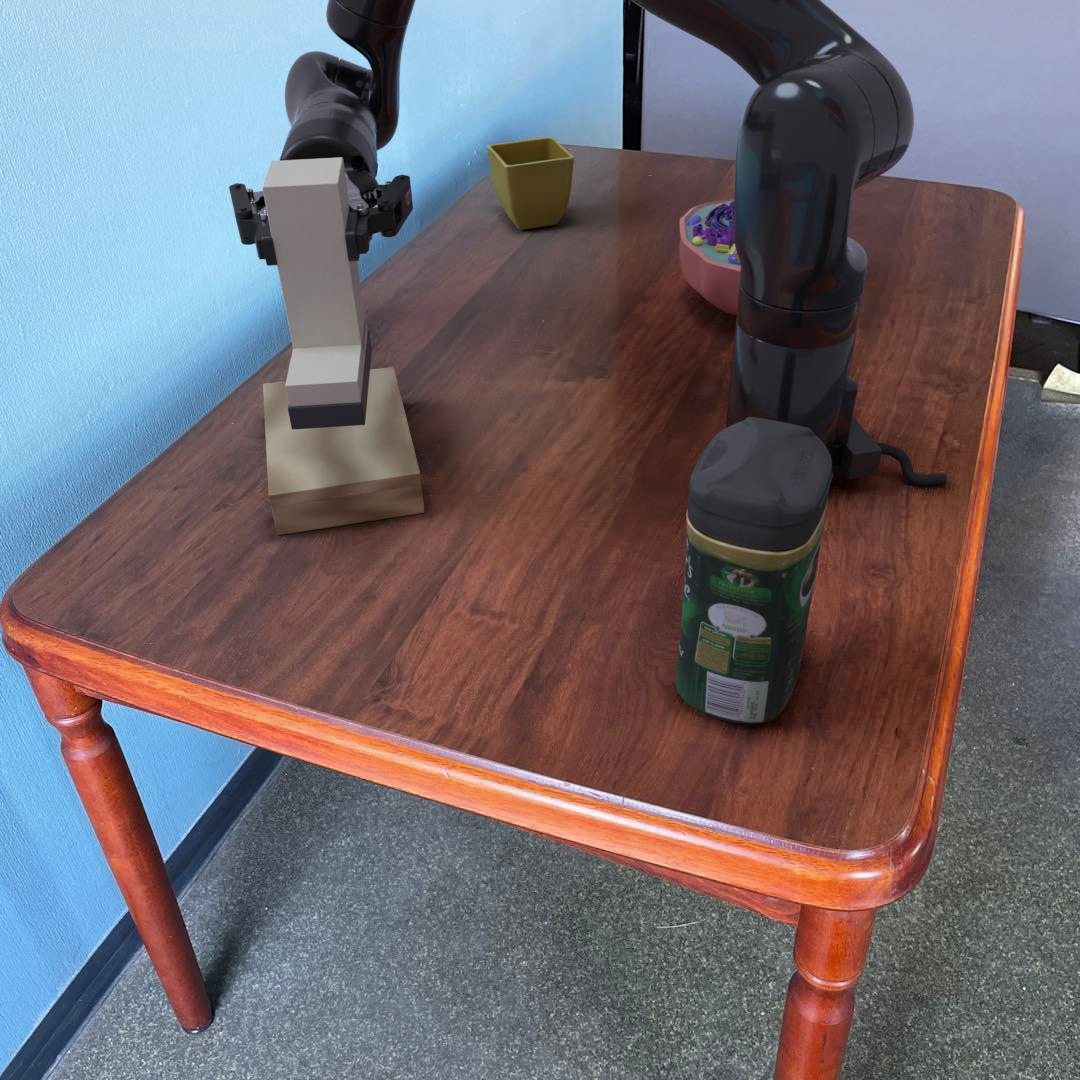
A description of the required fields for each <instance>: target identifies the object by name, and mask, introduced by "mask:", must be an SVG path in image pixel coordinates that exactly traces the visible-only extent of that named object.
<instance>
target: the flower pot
mask: <svg viewBox="0 0 1080 1080" xmlns="http://www.w3.org/2000/svg"><path fill="white" fill-rule="evenodd" d="M487 153H488V160H489V165H490V170H491V176H492V182H493V186H494V189H495V192H496V196H497V199H498V200H499V202H500V204H501V206H502V208H503V210H504V212H505V213H506V215H507V217H508V218H509V219H510V221H511V223H513V224H514V225H515V227H516V228H517V230H521V231H523V230H531V229H535V228H541V227H549V226H555V225H557V224H558V223H559V222H560V220H561V219H562V217H563V216H564V213H565V211H566V209H567V207H568V205H569V202H570V197H571V190H572V182H573V174H574V173H573V172H574V164H575V162H574V161H575V156H574V155H573V154H572V153H571V152H569V151H568V150H567V149H566V148H565V147H564V146H563V145H562V144H561V143H560V142H559V141H558V139H556V138H555V137H553V136H547V137H538V138H531V139H523V140H515V141H508V142H500V143H493V144H488V145H487Z"/></svg>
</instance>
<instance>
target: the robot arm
mask: <svg viewBox="0 0 1080 1080" xmlns="http://www.w3.org/2000/svg"><path fill="white" fill-rule="evenodd" d="M327 1H328V2H327V5H326V13H325V19H326V23H327V25H328V28H329V30H330V31H331V32H332V33H333V34H334V35H335V37H337V38H339V39H340V40H341V41H343V42H344V43H345V44H346V45H348V46H349V47H351V48H352V49H354V50H355V51H357V52H358V53H359V54H360V55H361V56H362V57H364V59H366V60H367V62H368V64H369V67H370V69H369V68H367V67H365V66H362V65H359V64H356V63H353V62H351V61H349V60H347V59H343V58H340V57H338V56H336V55H333V54H331V53H328V52H324V51H318V50H312V51H308V52H305V53H303V54H301V55H300V56H298V58H296V60H295V61H294V62H293V64H292V65H291V66H290V69H289V70H288V74H287V77H286V81H285V87H284V107H285V108H284V109H285V114H286V118H287V120H288V123H289V125H290V127H291V128H290V129H289V131H288V134H287V136H286V138H285V142H284V144H283V148H282V151H281V155H280V158H279V160H278V161H281V160H301V159H320V158H339V157H342V158H343V161H344V169H345V176H346V183H347V190H348V197H349V207H350V212H348V218H347V224H346V230H345V240H346V247H347V254H348V260H349V261H358V262H360V257H361V255H366V254H367V253H368V252H369V251H370V245H371V241H372V240H373V239H374V237H373V235H374V234H378V233H380V236H381V237H383V238H394V237H396V236H397V235H398V234H399V232H400V231H401V229H402V228H403V226H404V224H405V223H406V221H407V219H408V218H409V216H410V214H411V213H412V211H413V210H414V204H413V203H414V202H413V194H412V183H411V176H410V175H408V174H407V175H406V174H399V175H396V176H394V177H393V179H392V180H391V181H388V180H387V181H385V183H384V184H379V182H378V180H377V179H376V177H377V176H378V169H379V163H378V151H380V150H382V149H383V148H385V147H386V146H387V145H388V144H389V143H390V142H391V141H392V139H393V138H394V136H395V134H396V131H397V129H398V124H399V119H400V107H401V105H400V104H401V102H400V101H401V99H400V98H401V97H400V96H401V95H400V94H401V91H400V89H401V88H400V86H401V85H400V84H401V82H400V81H401V80H400V79H401V63H402V54H403V48H404V44H405V43H404V42H405V37H406V34H407V31H408V30H407V29H408V26H409V23H410V20H411V16H412V13H413V10H414V7H415V3H416V0H327ZM631 2H633V3H634V4H635V5H636V6H639V7H640V8H642V9H643V10H645V11H646V12H648V13H649V14H651V15H653V16H654V17H656V18H658V19H660V20H662V21H664V22H665V23H667V24H669V25H671V26H673V27H675V28H676V29H678V30H681V31H683V32H685V33H687V34H689V35H690V36H693V37H695V38H697V39H698V40H701V41H702V42H704V43H705V44H708V45H709V46H711V47H713V48H715V49H716V50H718V51H720V52H721V53H723V54H724V55H726V56H727V57H729V58H730V59H731V60H733V61H734V63H736V64H737V65H739V66H740V68H741V69H743V70H744V71H745V72H746V73H747V75H749V76H750V78H752V79H753V81H754V82H755V83H756V84H757V85H758V86H757V88H756V89H755V90H754V91H753V93H752V94H751V96H750V98H749V99H748V101H747V103H746V106H745V108H744V110H743V114H742V117H741V121H740V125H739V130H738V135H737V145H736V156H735V174H734V198H733V199H734V221H733V234H734V243H735V248H736V252H737V254H738V257H739V261H740V265H741V272H740V285H739V295H738V305H737V316H736V315H735V328H734V337H733V347H732V348H733V349H732V359H731V368H730V377H729V378H730V379H729V386H728V387H729V390H728V400H727V410H726V419H725V428H727V427H729V426H731V425H734V424H736V423H738V422H741V421H744V420H745V419H746V418H748V417H755V418H762V419H768V420H774V421H780V422H785V423H789V424H794V425H798V426H802V427H806V428H809V429H811V430H812V431H813V433H814V434H815V435H816V436H817V437H818V438H819V439H820V440H821V441H822V442H823V444H824V445H825V446H826V448H827V449H828V451H829V453H830V456H831V459H832V472H833V478H832V480H831V483H830V486H833V485H839V484H840V483H842V478H843V474H844V475H845V477H847V479H849V480H852V479H858V478H865V477H871V476H876V475H878V473H879V469H880V468H879V467H880V463H881V458H882V455H885V456H889V457H891V458H893V459H895V460H896V461H897V462H899V464H900V470H901V473H902V475H903V478H905V479H906V480H907V481H908V482H910V483H911V484H914V485H918V486H933V485H934V486H935V485H946V483H947V477H948V476H947V473H946V472H945V473H944V472H943V473H942V472H941V473H940V472H939V473H930V474H920V473H917V472H915V471H914V469H913V464H912V460H911V458H910V456H909V455H908V454H907V453H906V452H905V451H903V450H902V449H901V448H899V447H897V446H895V445H893V444H890V443H883V442H880V441H875V440H874V439H873V438H872V436H871V435H870V434H869V432H868V431H866V429H865V428H864V427H863V426H862V425H861V423H860V422H859V421H858V420H857V419H856V418H855V417H854V412H855V406H856V401H857V395H858V390H859V386H858V383H857V381H856V380H855V379H854V378H853V377H852V376H851V375H850V373H851V368H852V362H853V355H854V350H855V345H856V339H857V333H858V326H859V322H860V315H861V310H862V304H863V298H864V293H865V288H866V282H867V275H868V270H869V269H868V268H869V258H868V253H867V251H866V249H864V247H863V245H861V244H860V243H859V242H858V241H856V240H855V239H853V238H851V237H849V236H848V235H849V224H850V214H851V207H852V199H853V193H854V191H856V190H857V189H859V188H861V187H863V186H865V185H866V184H868V183H870V182H871V181H874V180H875V179H877V178H879V177H880V176H882V175H884V174H885V173H887V172H888V171H889V170H891V169H892V168H894V166H896V165H897V164H898V163H899V162H900V161H901V159H903V157H904V156H905V153H906V152H907V150H908V149H909V147H910V145H911V141H912V138H913V133H914V128H915V114H914V113H915V112H914V107H913V101H912V98H911V95H910V94H911V93H910V92H909V89H908V87H907V84H906V82H905V81H904V79H903V77H902V76H901V74H900V72H899V71H898V69H896V67H895V66H894V64H892V62H890V61H889V59H888V58H887V57H886V56H885V55H884V54H883V53H882V52H881V51H880V50H879V49H877V47H875V46H874V45H873V44H872V43H871V42H869V41H868V40H867V39H866V38H865V37H864V36H863V35H862V34H860V33H859V31H857V30H856V29H854V28H853V27H852V26H851V25H850V24H848V22H847V21H845V20H844V19H843V18H842V17H841V16H840V15H838V14H837V13H836V12H834V10H832V9H831V8H830V7H829V6H828V5H826V3H825V2H823V1H822V0H631ZM228 190H229V194H230V199H231V205H232V208H233V213H234V218H235V223H236V226H237V230H238V234H239V238H240V242H241V244H242V245H245V246H251V245H254V244H255V250H256V253H257V257H258V259H259V260H265V264H266V266H268V267H270V266H271V267H273V266H277V261H276V256H275V251H274V245H273V240H272V235H271V230H270V225H269V220H268V214H267V209H266V204H265V199H264V193H263V190H260V191H254V189H253V188H247V186H246V185H245V183H240V182H239V183H238V182H237V183H233V184H231V185H229V186H228Z"/></svg>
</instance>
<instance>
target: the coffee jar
mask: <svg viewBox="0 0 1080 1080" xmlns="http://www.w3.org/2000/svg"><path fill="white" fill-rule="evenodd" d="M832 478H833V472H832V459H831V456H830V453H829V451H828V449H827V448H826V446H825V445H824V444H823V442H822V441H821V440H820V439H819V438H818V437H817V436H816V435H815V434H814V433H813V431H812V430H811V429H809V428H806V427H802V426H798V425H794V424H789V423H785V422H780V421H774V420H768V419H762V418H755V417H748V418H746V419H745V420H744V421H741V422H738V423H736V424H734V425H731V426H729V427H727V428H726V427H725V428H724V429H722V430H720V431H719V432H718V433H716V434H715V436H713V437H712V438H711V440H709V443H708V444H707V446H706V447H705V449H704V450H703V451H702V452H701V454H700V456H699V458H698V459H697V462H696V464H695V466H694V468H693V470H692V474H691V475H690V478H689V483H688V498H687V508H686V518H685V519H686V552H685V553H686V554H685V555H686V556H685V569H684V582H683V594H682V605H681V606H682V608H681V619H680V629H679V638H678V639H679V641H678V652H677V661H676V673H675V686H676V690H677V693H678V695H679V696H680V697H681V699H682V700H683V701H684V702H685V703H686V704H687V705H689V706H690V707H692V708H693V709H695V710H697V711H699V712H700V713H702V714H704V715H706V716H708V717H711V718H714V719H717V720H721V721H723V722H727V723H732V724H742V725H759V724H765V723H767V722H768V723H769V722H771V721H773V720H774V719H776V718H777V717H778V716H779V715H780V714H781V713H782V712H783V711H784V710H785V708H786V707H787V705H788V703H789V701H790V699H791V697H792V695H793V693H794V690H795V687H796V685H797V682H798V679H799V676H800V673H801V672H800V671H801V667H802V662H803V657H804V656H803V655H804V650H805V644H806V637H807V630H808V624H809V623H808V622H809V617H810V609H811V603H812V597H813V593H814V592H813V591H814V587H815V581H816V575H817V569H818V562H819V557H820V550H821V544H822V538H823V532H824V526H825V522H826V521H825V520H826V513H827V507H828V502H829V495H830V489H831V485H830V483H831V480H832Z"/></svg>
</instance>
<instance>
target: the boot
mask: <svg viewBox="0 0 1080 1080" xmlns="http://www.w3.org/2000/svg"><path fill="white" fill-rule="evenodd" d="M261 188H262V191H263V193H264V199H265V204H266V209H267V214H268V220H269V225H270V230H271V235H272V240H273V245H274V251H275V256H276V261H277V265H276V266H277V271H278V278H279V282H280V283H279V284H280V287H281V292H282V293H281V294H282V299H283V302H284V304H283V305H284V309H285V314H286V319H287V324H288V329H289V335H290V339H291V345H292V351H291V356H290V361H289V364H288V365H289V366H288V371H287V375H286V380H285V381H286V384H285V388H286V393H287V398H288V403H289V404H288V413H289V418H290V423H291V428H292V429H309V428H325V427H341V426H357V425H365V420H366V409H367V398H368V387H369V377H370V370H371V364H372V356H373V355H372V354H373V348H372V339H371V332H370V330H369V329H368V323H367V316H366V311H365V305H364V297H363V290H362V284H361V283H362V282H361V277H360V270H359V263H358V262H359V261H349V260H348V254H347V247H346V240H345V230H346V224H347V218H348V212H350V207H349V197H348V190H347V183H346V176H345V169H344V161H343V158H342V157H339V158H320V159H301V160H281V161H279V160H271V161H270V164H269V166H268V170H267V172H266V175H265V178H264V182H263V185H262V187H261Z"/></svg>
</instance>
